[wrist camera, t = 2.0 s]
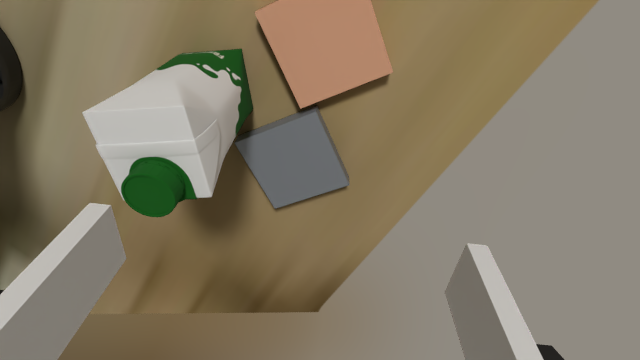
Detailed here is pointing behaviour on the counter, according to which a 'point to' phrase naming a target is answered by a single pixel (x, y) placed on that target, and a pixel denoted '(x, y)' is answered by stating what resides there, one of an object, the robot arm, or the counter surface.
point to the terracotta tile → (325, 45)
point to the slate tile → (293, 158)
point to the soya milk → (173, 129)
